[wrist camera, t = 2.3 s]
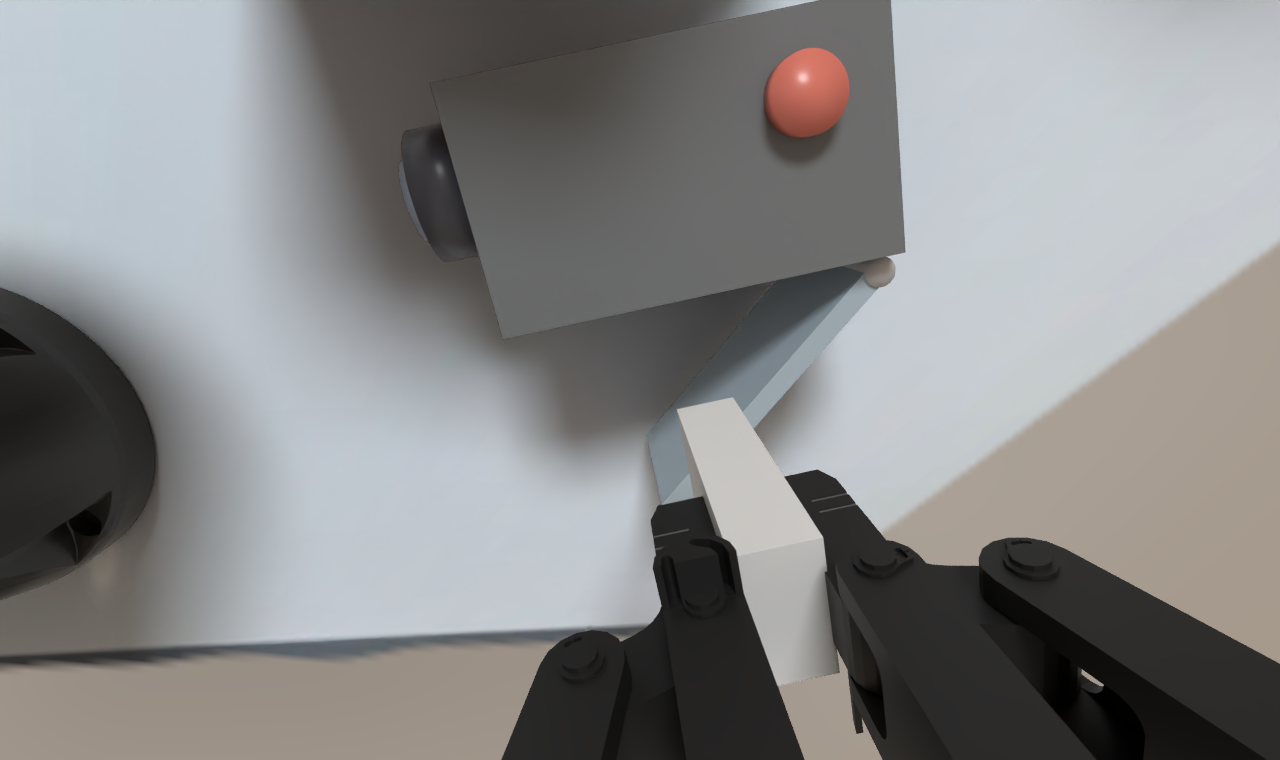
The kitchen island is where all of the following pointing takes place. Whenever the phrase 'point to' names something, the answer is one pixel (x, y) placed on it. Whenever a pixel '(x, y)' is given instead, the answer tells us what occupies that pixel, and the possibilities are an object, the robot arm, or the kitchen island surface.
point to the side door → (766, 356)
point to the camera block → (666, 164)
